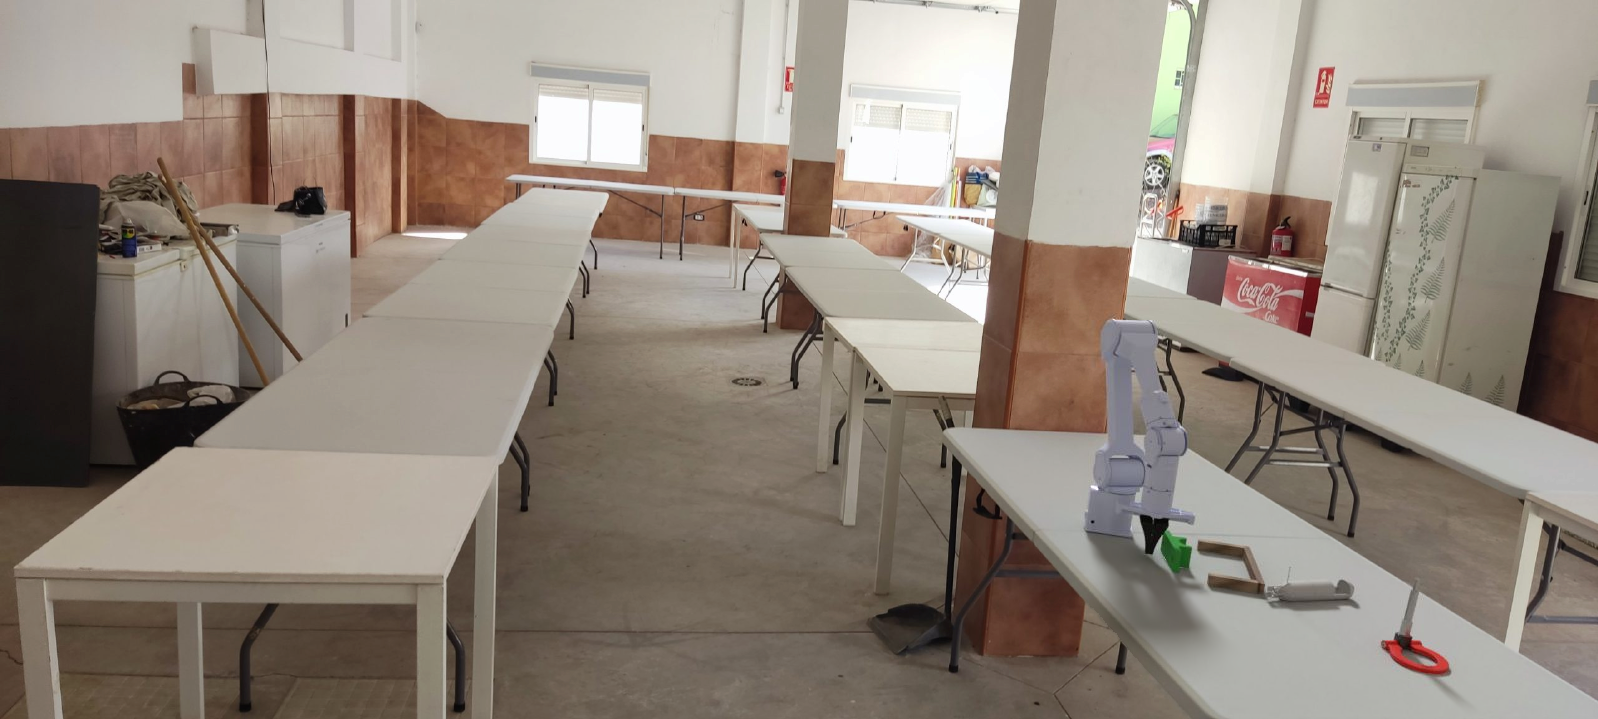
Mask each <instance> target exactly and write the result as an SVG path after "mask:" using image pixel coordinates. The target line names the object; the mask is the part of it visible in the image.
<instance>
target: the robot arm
mask: <svg viewBox="0 0 1598 719" xmlns="http://www.w3.org/2000/svg"><path fill="white" fill-rule="evenodd" d="M1158 343H1159V332H1158V328H1157V324H1156V323H1155V322H1154V321H1152V320H1150V319H1147V320H1134V319H1132V320H1130V319H1128V320H1127V319H1114V318H1109V319H1108V320H1106V322H1105V323H1104V325H1103V327H1102V329H1101V330H1100V354H1101V356H1100V357H1101V359H1102V360H1103V361H1104V362H1105V380H1106V381H1105V386H1106V390H1105V391H1106V419H1107V422H1106V423H1107V425H1106V426H1107V442H1106V443H1105V444H1104V445H1102V446H1101V447H1100V448H1098V449H1097V450H1096V451H1095V455H1094V456H1095V458H1094V463H1093V468H1092V475H1093V480H1094V482H1095V484H1096V485H1093V484H1090V486H1089V491H1088V497H1087V505H1086V509H1085V511H1084V522H1085V523H1084V524H1085V526H1084V527H1085V531H1086V532H1092V533H1098V534H1105V535H1110V536H1111V535H1112V536H1118V537H1124V538H1129V539H1130V538H1132V539H1133V538H1134V532H1133V526H1132V522H1133V516H1138V517H1139V523H1140V525H1141V530H1142V532H1143V537H1144V554H1145V555H1151V556H1153V555H1154V551H1155V549H1156V547H1157V545H1158V543H1159V541H1160V539H1162V536H1163V534H1164V532H1165V531H1166V530H1168V528H1169V526H1170V522H1171V521H1173V522H1179V523H1185V524H1187V525H1191V526H1195V521H1196V514H1195V512H1194V511H1193V512H1192V511H1187V510H1183V509H1179V508H1175V507H1173V500H1174V495H1175V494H1174V493H1175V488H1176V481H1177V476H1178V471H1179V470H1178V469H1179V462H1180V457H1183V456H1185V454H1186V453H1187V451H1188V448H1189V438H1188V432H1187V430H1186V428H1185V427H1183V426H1182V425H1181V423H1180V421H1178V420H1176V415H1175V413H1174V409H1173V406H1172V401H1171V399H1170V395H1169V393H1168V392H1166V391H1164V390H1163V389H1162V387H1161V382H1160V376H1159V371H1158V366H1157V359H1156V354H1155V352H1156V349H1157V347H1158ZM1132 368H1133V371H1134V373H1135V376H1136V379H1137V381H1138V384H1139V386H1140V390H1141V392H1142V395H1141V396H1140V399H1139V401H1138V403H1139V407H1140V411H1141V414H1142V419H1143V421H1144V425H1145V429H1146V434H1145V436H1143V447H1144V450H1143V449H1142V448H1140V447H1139V446H1138V445H1137V444H1136V443H1135V441H1134V437H1135V436H1134V413H1133V412H1134V406H1133V405H1134V404H1133V377H1132ZM1114 456H1125V457H1114ZM1141 488H1142V492H1141V493H1142V494H1141V500H1140V502H1138V501H1137V502H1135V501H1136V493H1140V491H1141ZM1169 521H1170V522H1169Z"/></svg>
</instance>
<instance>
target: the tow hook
mask: <svg viewBox="0 0 1598 719" xmlns="http://www.w3.org/2000/svg"><path fill="white" fill-rule="evenodd" d="M1420 584H1421V578H1419V577H1415V578H1414V583H1413V587H1412V588H1411V589H1410V593H1409V597H1408V600H1407V605H1406V609H1405V613H1404V617H1403V618H1402V619H1401V623H1400V627H1399V631H1398V632H1397V631H1396V632H1395V634H1394V637H1393V640H1392V639H1390V640H1389V639H1386V640H1383V639H1382V640H1381V642H1380V646H1381V648H1382V649H1384V650H1388V651H1389V654H1390V657H1391V658H1392V659H1393V660H1394V661H1395V662H1397V663H1398V664H1399V665H1402V666H1403V667H1405V668H1406V669H1409V670H1412V671H1416V672H1418V673H1423V674H1427V675H1442V674H1446V673H1447V672H1448V671H1449V668H1450V667H1449V666H1450V664H1449V661H1448V660H1447V659H1446V658H1445V657H1444V656H1442V655H1441V654H1440V653H1438V652H1436V651H1435V650H1432V649H1430V648H1429V647H1428V648H1427V647H1425V646H1423V643H1422V641H1421V640H1418V639H1414V640H1413V636H1412V635H1411V632H1412V627H1413V618H1414V613H1415V610H1416V606H1417V602H1418V598H1419V593H1420V590H1419V588H1420ZM1404 650H1411V651H1413V653H1416V654H1420V655H1422V656H1423V655H1424V656H1425V657H1427V658H1429V659H1431V660H1433V661H1434V662H1435V665H1425V664H1421V663H1417V662H1414V661H1413V660H1410V659H1408V658H1407V657H1405V656H1404V655H1403V654H1402V652H1403V651H1404Z"/></svg>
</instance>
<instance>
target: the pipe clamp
mask: <svg viewBox="0 0 1598 719" xmlns="http://www.w3.org/2000/svg"><path fill="white" fill-rule="evenodd" d="M1187 541H1188V539H1187V537H1183V536H1175V535H1172V533H1171V531H1170V530H1168V529H1167V530H1166V531H1165V532H1164V534H1163V535H1162V536H1161V543H1160V550H1161V551H1160V553H1161V555H1162V556H1163V558H1164V557H1165V558H1164V560H1165V559H1166V560H1165V562H1166V561H1167V562H1166V564H1167V563H1168V564H1167V566H1168V567H1169V569H1170V571H1171V572H1175V573H1174V574H1179V571H1180V568H1179V567H1182V568H1181V569H1190V564H1191V557H1192V551H1193V546H1191V545H1187Z"/></svg>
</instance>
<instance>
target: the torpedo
mask: <svg viewBox="0 0 1598 719" xmlns="http://www.w3.org/2000/svg"><path fill="white" fill-rule="evenodd" d="M1291 568H1292V567H1291V566H1289V569H1288V574H1287V580H1285V581H1282V582H1281V583H1279V585H1277V584H1276V585H1268V586H1267V588H1264V591H1266V594H1265V598H1266V599H1267V598H1268V599H1269V598H1270V599H1278V598H1279V599H1281V600H1283V601H1286V602H1287V601H1288V602H1304V601H1305V602H1306V601H1307V602H1308V601H1328V600H1329V601H1331V600H1332V601H1333V600H1347V599H1350V598H1351V597H1353V595H1354V593H1355V586H1354V585H1353V584H1352V582H1350V581H1349V580H1346V579H1342V578H1341V579H1339V580H1338V581H1337V584H1336V586H1334V583H1332V581H1331V580H1329V579H1306V580H1289V578H1290V572H1291Z"/></svg>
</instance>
